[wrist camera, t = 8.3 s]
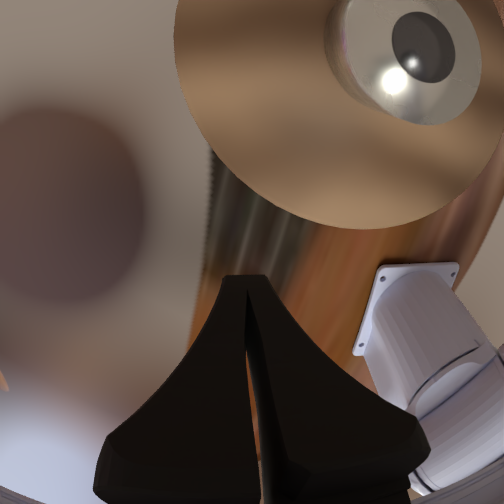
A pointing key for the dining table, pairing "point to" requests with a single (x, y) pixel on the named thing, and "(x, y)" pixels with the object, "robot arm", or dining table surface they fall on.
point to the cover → (405, 57)
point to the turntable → (326, 115)
